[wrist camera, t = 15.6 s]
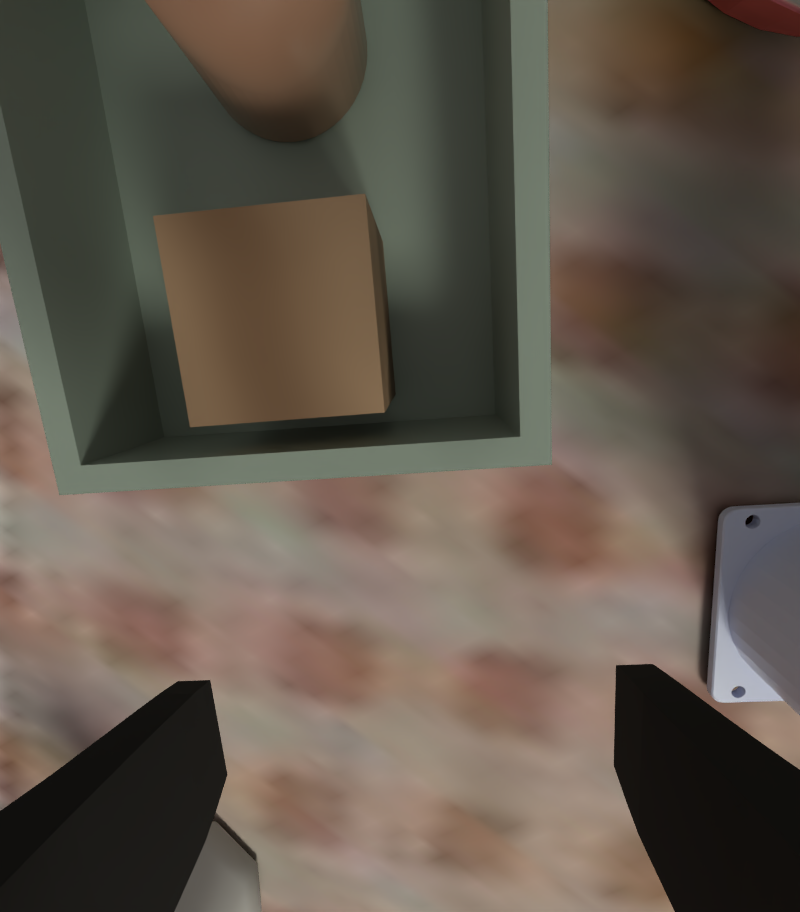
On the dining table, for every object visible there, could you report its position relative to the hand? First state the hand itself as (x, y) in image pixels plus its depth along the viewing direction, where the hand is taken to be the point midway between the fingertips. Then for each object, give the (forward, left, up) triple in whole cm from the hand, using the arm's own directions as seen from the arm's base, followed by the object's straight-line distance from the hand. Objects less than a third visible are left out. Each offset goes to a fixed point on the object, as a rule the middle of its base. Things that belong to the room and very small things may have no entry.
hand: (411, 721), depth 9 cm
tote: (+3, -12, -10) cm, 16 cm away
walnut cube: (+3, -7, -10) cm, 12 cm away
